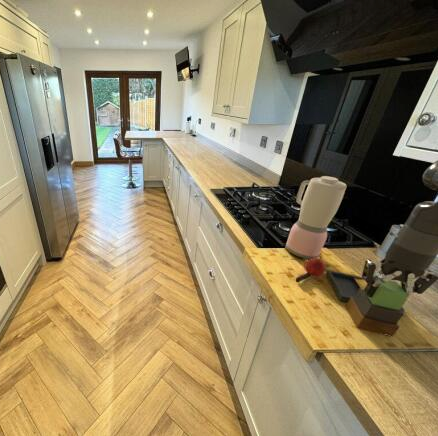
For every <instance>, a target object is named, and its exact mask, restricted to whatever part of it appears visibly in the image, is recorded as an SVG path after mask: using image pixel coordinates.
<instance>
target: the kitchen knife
mask: <svg viewBox="0 0 438 436" xmlns="http://www.w3.org/2000/svg"><path fill="white" fill-rule="evenodd" d="M326 268H327V266H325V269H326ZM311 277H312V276H311V274H310V273H307V272H306V273H303V274H301V275H300V276H297V277H296V278H295V282H296V283H300V282H302V281H305V280H307V279H309V278H311Z"/></svg>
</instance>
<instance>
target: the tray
mask: <svg viewBox="0 0 438 436" xmlns="http://www.w3.org/2000/svg"><path fill="white" fill-rule="evenodd" d="M326 276H327V277H326ZM325 277H326V278H327V280H328V282H329V284H330V286H331V288H332V290H333V292H334V294H335V295H336V297H337V299H338V301H339V302H343V303H346V304H347V303H348V301H349V299H350V298H351V297H352V298H354V297H355V295H356V293H357V292H358V290H359V289H362V288H361V286H360V285H359V283H358V282H357V280H356V279H360V280H364V279H363V277H362V276H359V275H354V274H348V273H343V272H339V271H335V270H334V271H333V270H329V269H328V270H326V272H325ZM400 309H401V310H402V311H403V312H404V311H405V309H404V307H403V306H402V307H401V308H400Z"/></svg>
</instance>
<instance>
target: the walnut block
mask: <svg viewBox="0 0 438 436" xmlns="http://www.w3.org/2000/svg"><path fill="white" fill-rule="evenodd" d="M345 309H346V310H347V313H348V315H349V316H350V318H351V320H352V322H353V323H354V325H355V327H356V329H360V330H364V329H365V330H364V331H368V330H369V331H368V332H372V331H374V332H373V333H375V332H377V333H376V334H379V333H382V334H381V335H383V334H387V335H390V336H389V337H391V336H392V337H393V336H394V335H395V334H396V333H397V331H398V330H399V328H400V327H401V326H400V325H399V322H398V323H397V324H393V323H389V322H385V321H381V320H377V319H372V318H368V317H365V316H364V315H363V313H362V312H361V310H360V308H359V307H358V305H357V303H356V302H355V300H354V298H352V297H351V298H350V299H349V301H348V303H346V305H345ZM387 335H386V336H387Z"/></svg>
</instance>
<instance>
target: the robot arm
mask: <svg viewBox="0 0 438 436" xmlns="http://www.w3.org/2000/svg"><path fill="white" fill-rule="evenodd" d="M421 181H422V183H423V185H424V186H425V187H426V188H429V189H431V190H433V191H436V192H438V159H437V160H436V161H434V162H433V163H431V165H429V166H427V168H426V169H425V170H424V172H423V174H422V176H421ZM437 256H438V200H437V201H431V200H430V201H428V200H427V201H421V202H418V203H417V204H416V205H415V206H414V207H413V209H412V211H411V212H410V214H409V216H408V217H407V219H406V221H405V223H404V224H403V225H402V227H401V228H400V229H399V230H398V232H397V234H396V235H395V237H394V239H393V240H392V242H391V244H390V245H389V247H388V249H387V250H386V252H385V256H384V258H382V259H381V260H379V261H373V260H372V259H370V258H367V259H366V260H365V261H364V266H363V269H362V274H361V277H363V279H362V280H364V281H365V283H366V285H365V287H364V288H363V289H364V291H365V293H366V295H367V296H368V297H373V295H374V293H375V292H376V290H377V288H378V286H379V285H381V284H382V283H387V282H388V281H398V282H399V283H400V287H401V288H402V289H403V290H404V291H405V292H406V293H407V294H408V295H409V296H410V295H411V294H417V295H421V294H423V293H425V292H426V291H427V290H428V289H429V288H430V287H431V286H432V285H433V284H435V283H436V282H437V281H438V275H437V274H435V273H434V272H433V271H432V270H429V268H430V266H431V265H432V263H433V262H434V260H435V259H436V258H437ZM378 268H379V269H378ZM377 279H378V280H377Z"/></svg>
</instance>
